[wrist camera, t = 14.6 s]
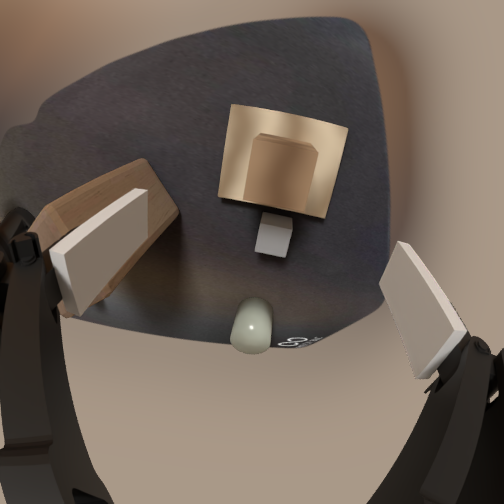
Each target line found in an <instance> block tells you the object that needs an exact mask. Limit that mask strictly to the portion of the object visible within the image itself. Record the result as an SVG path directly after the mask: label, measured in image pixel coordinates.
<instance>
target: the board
mask: <svg viewBox="0 0 504 504" xmlns="http://www.w3.org/2000/svg"><path fill="white" fill-rule="evenodd" d="M347 132H348V128H345V127H342V126H338V125H334V124H331V123H327V122H323V121H319V120H315V119H311V118H307V117H303V116H298V115H293V114H289V113H284V112H279V111H273V110H268V109H262V108H256V107H249V106H243V105H235V104H232V105H231V111H230V117H229V123H228V129H227V136H226V142H225V149H224V156H223V163H222V170H221V177H220V185H219V193H218V197H223V198H229V199H234V200H240V201H245V202H250V203H255V204H260V205H265V206H270V207H275V208H280V207H276V206H271V205H266V204H261V203H256V202H251V201H246V200H243V195H244V189H245V184H246V178H247V172H248V166H249V160H250V154H251V149H252V143H253V139H254V138H255V137H256V136H257V135H259V134H260V133H265V134H270V135H275V136H280V137H285V138H290V139H294V140H299V141H303V142H307V143H311V144H312V145H313V147H314V148H315V149H316V150H317V151H318V153H319V154H318V158H317V162H316V167H315V171H314V175H313V179H312V183H311V187H310V191H309V195H308V199H307V203H306V207H305V210H304V213H303V212H299V211H294V210H290V209H285V208H280V209H284V210H289V211H294V212H298V213H303V214H307V215H312V216H316V217H321V218H325V216H326V212H327V209H328V205H329V202H330V198H331V195H332V191H333V187H334V184H335V180H336V176H337V172H338V169H339V165H340V161H341V157H342V153H343V149H344V145H345V141H346V136H347Z"/></svg>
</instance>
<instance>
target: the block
mask: <svg viewBox="0 0 504 504" xmlns="http://www.w3.org/2000/svg"><path fill="white" fill-rule="evenodd" d="M135 188H137V189H144V190H148V238H147V239H146V240H145V241H144V242H143V243H142V244H141V245H140V246H139V248H138V249H137V250H136V251H135V252H134V253H133V254H132V255H131V256H130V258H129V259H128V260H127V261H126V262H125V263H124V264H123V265H122V267H121V268H120V269H119V270H118V271H117V272H116V274H115V275H114V276H113V277H112V278H111V279H110V281H109V282H108V283H107V284H106V285H105V287H104V288H103V289H102V290H101V291H100V293H99V294H98V295H97V296H96V298H95V299H94V300H93V301H92V302H91V304H90V305H89V306H88V307H90V306H92V305H94V304H96V303H97V302H99V301H101V300H103V299H105V298H107V297H108V296H110V294H111V293H112V292H113V291H114V289H115V288H116V287H117V286H118V284H119V283H120V282H121V281H122V279H123V278H124V277H125V276H126V274H127V273H128V272H129V271H130V270H131V268H132V267H133V266H134V265H135V264H136V262H137V261H138V260H139V259H140V258H141V257H142V255H143V254H144V253H145V252H146V251H147V250H148V248H149V247H150V246H151V245H152V244H153V243H154V242H155V240H156V239H157V238H158V237H159V236H160V235H161V234H162V233H163V232H164V230H165V229H166V228H167V227H168V226H169V225H170V224H171V223H172V222H173V221H174V219H175V218H176V217H177V216H178V214H179V210H178V207H177V206H176V204H175V203H174V201H173V200H172V198H171V197H170V195H169V194H168V192H167V191H166V189H165V187H164V186H163V184H162V183H161V181H160V180H159V178H158V177H157V175H156V174H155V172H154V170H153V169H152V167H151V166H150V164H149V163H148V161H147V160H145V159H144V158H142V159H138V160H136V161H133V162H131V163H129V164H126V165H124V166H122V167H120V168H117V169H115V170H113V171H111V172H109V173H107V174H104V175H102V176H100V177H98V178H96V179H94V180H92V181H90V182H88V183H86V184H84V185H82V186H80V187H78V188H76V189H75V190H73V191H71V192H69V193H67V194H65V195H64V196H62V197H60V198H58V199H56V200H55V201H53V202H51V203H50V204H48V205H46V206H45V207H44V208H43V210H42V211H41V213H40V214H39V215H38V217H37V218H36V220H35V221H34V222H33V224H32V225H31V227H30V228H29V230H28V231H27V232H35V233H37V234H38V237H39V242H40V246H41V251H42V252H43V251H44V250H46V249H47V248H48V247H49V246H51V245H52V244H53V243H54V242H56V241H57V240H59V239H60V238H61V237H62V236H63V235H65V234H66V233H67V232H69V231H70V230H71V229H73V228H75V227H77V226H79V225H82V224H83V223H84V222H86V221H87V220H89V219H90V218H91V217H93V216H94V215H96V214H97V213H98V212H100V211H101V210H103V209H104V208H106V207H107V206H109V205H110V204H112V203H113V202H115V201H116V200H118V199H119V198H121V197H122V196H124V195H125V194H127V193H128V192H130V191H132V190H133V189H135ZM57 306H58V309H59V312H60V314H61V315H62V316H63V317H65V318H69V317H72V316H74V315H75V314H73V313H70V312H68V311H66V309H65V306H64V303H63V300H61V301H60V303H59V304H58V305H57Z"/></svg>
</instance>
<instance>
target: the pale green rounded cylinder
mask: <svg viewBox="0 0 504 504" xmlns="http://www.w3.org/2000/svg"><path fill="white" fill-rule="evenodd" d="M272 320H273V308H272V306H271V305H270V304H269V303H268V302H267V301H266V300H264V299H261V298H257V297H251V298H247V299H244V300H243V301H241V302H240V303H239V305H238V308H237V312H236V317H235V321H234V325H233V329H232V333H231V337H230V341H231V344H232V345H233V347H234V348H236V349H237V350H238V351H240V352H243V353H246V354H259V353H262V352H264V351H266V350H267V349H268V348H269V346H270V342H271V331H272Z"/></svg>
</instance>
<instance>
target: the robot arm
mask: <svg viewBox="0 0 504 504" xmlns="http://www.w3.org/2000/svg"><path fill="white" fill-rule="evenodd" d="M34 221H35V218H34V217H33V216H32V215H31V214H30V213H29V212H28V211H27V210H25V209H23V208H15V209H14V210H12V211H11V212H9V213H8V214H7V215H6V216H5V218H4V219H3V220H2V222H1V223H0V404H1V416H2V425H3V432H4V439H5V445H4V448H2V449H0V483H1V486H2V490H3V493H4V497H5V500H6V503H7V504H114V502H113V500H112V498H111V496H110V495H109V492H108V491H107V489H106V487H105V485H104V484H103V482H102V481H101V479H100V478H99V477H98V475H97V474H96V472H95V470H94V468H93V465H92V463H91V460H90V458H89V455H88V452H87V449H86V446H85V443H84V440H83V437H82V434H81V430H80V427H79V424H78V420H77V417H76V413H75V409H74V405H73V401H72V396H71V392H70V387H69V382H68V377H67V372H66V365H65V359H64V352H63V344H62V335H61V326H60V312H59V309H58V306H57V305H58V304H59V303H60V301H61V300H63V303H64V306H65V309H66V311H68V312H70V313H73V314H75V315H77V316H80V317H81V315H82V314H83V313H84V311H85V310H86V309H87V308H88V306H89V305H90V304H91V302H92V301H93V300H94V299H95V298H96V296H97V295H98V294H99V293H100V291H101V290H102V289H103V288H104V287H105V285H106V284H107V283H108V282H109V281H110V279H111V278H112V277H113V276H114V275H115V274H116V272H117V271H118V270H119V269H120V268H121V267H122V265H123V264H124V263H125V262H126V261H127V260H128V259H129V258H130V256H131V255H132V254H133V253H134V252H135V251H136V250H137V249H138V248H139V246H140V245H141V244H142V243H143V242H144V241H145V240H146V239H147V238H148V190H144V189H137V188H135V189H133V190H132V191H130V192H128V193H127V194H125V195H124V196H122V197H121V198H119V199H118V200H116V201H115V202H113V203H112V204H110V205H109V206H107V207H106V208H104V209H103V210H101V211H100V212H98V213H97V214H96V215H94V216H93V217H91V218H90V219H89V220H87V221H86V222H84V223H83V224H82V225H79V226H77V227H75V228H73V229H71V230H70V231H69V232H67V233H66V234H65V235H63V236H62V237H61V238H60V239H59V240H57V241H56V242H54V243H53V244H52V245H51V246H49V247H48V248H47V249H46V250H44V251H43V252H42V251H41V246H40V242H39V237H38V234H37V233H35V232H27V231H28V230H29V228H30V227H31V225H32V224H33V222H34ZM379 285H380V287H381V290H382V292H383V294H384V297H385V299H386V301H387V304H388V306H389V309H390V311H391V313H392V316H393V318H394V321H395V323H396V326H397V329H398V331H399V334H400V337H401V339H402V342H403V344H404V347H405V350H406V353H407V356H408V359H409V362H410V365H411V368H412V371H413V374H414V377H415V379H429V378H430V377H431V375H432V374H433V373H434V372H435V371H436V370H438V373H439V377H438V378H437V379H436V380H435V381H434V382H433V383H432V384H431V385H430V386H429V387H428V388H427V389H426V390H425V392H424V393H427V392H428V391H430V390H431V391H430V394H429V397H428V399H427V401H426V403H425V406H424V408H423V410H422V412H421V414H420V416H419V419H418V421H417V423H416V425H415V427H414V429H413V431H412V433H411V435H410V437H409V439H408V440H407V442H406V444H405V446H404V448H403V450H402V451H401V453H400V455H399V456H398V458H397V460H396V461H395V463H394V465H393V466H392V468H391V470H390V471H389V473H388V474H387V476H386V477H385V479H384V480H383V482H382V483H381V485H380V486H379V488H378V489H377V490H376V492H375V493H374V494H373V496H372V497H371V499H370V500H369V501H368V502H367V504H504V348H503V349H502V350H501V351H500V353H499V354H498V355H497V356H495V355H493V354H491V351H490V348H489V346H488V345H487V344H486V343H485V342H484V341H483V340H482V339H481V338H479V337H476V336H473V337H471V335H470V334H469V332H468V330H467V328H466V326H465V325H464V323H463V321H462V320H461V318H459V315H458V313H457V312H456V310H455V308H454V306H453V305H452V303H451V302H450V301H449V300H448V298H447V297H446V295H445V294H444V292H443V291H442V290H441V288H440V286H439V285H438V283H437V282H436V280H435V279H434V277H433V276H432V275H431V273H430V272H429V270H428V269H427V268H426V266H425V265H424V263H423V262H422V261H421V259H420V258H419V257H418V255H417V254H416V253H415V251H414V250H413V249H412V247H411V246H410V245H409V244H407V243H403V242H399V241H397V244H396V247H395V249H394V251H393V253H392V256H391V258H390V260H389V263H388V265H387V267H386V269H385V271H384V274H383V276H382V278H381V280H380V282H379ZM498 390H499V395H498V397H497V398H496V399H495V400H494V401H492V402H491V403H490V397H492V396H493V395H494V394H495V393H496V392H497V391H498Z"/></svg>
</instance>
